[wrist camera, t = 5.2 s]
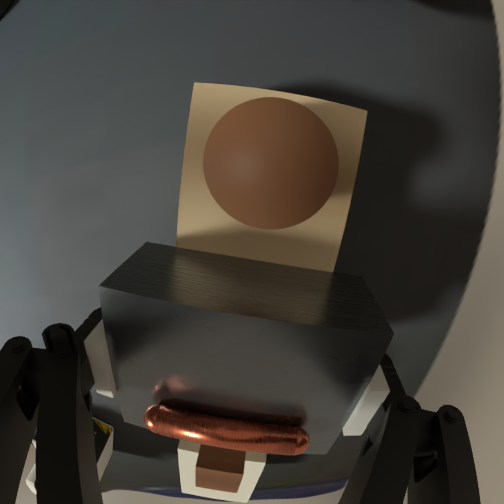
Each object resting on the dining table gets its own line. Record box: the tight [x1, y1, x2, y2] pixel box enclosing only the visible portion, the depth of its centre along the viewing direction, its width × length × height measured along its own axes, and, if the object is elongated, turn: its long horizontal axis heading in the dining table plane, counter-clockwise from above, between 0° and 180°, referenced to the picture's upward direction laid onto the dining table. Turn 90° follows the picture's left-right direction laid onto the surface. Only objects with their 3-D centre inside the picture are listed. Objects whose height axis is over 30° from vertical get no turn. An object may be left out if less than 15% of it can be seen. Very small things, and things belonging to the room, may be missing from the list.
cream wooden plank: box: [176, 83, 367, 493], centre depth 14 cm, size 20×6×9 cm, turn 172°
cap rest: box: [178, 440, 266, 503], centre depth 22 cm, size 10×6×5 cm, turn 171°
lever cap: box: [99, 242, 394, 455], centre depth 11 cm, size 7×9×5 cm
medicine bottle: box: [26, 417, 114, 494], centre depth 21 cm, size 7×7×12 cm
